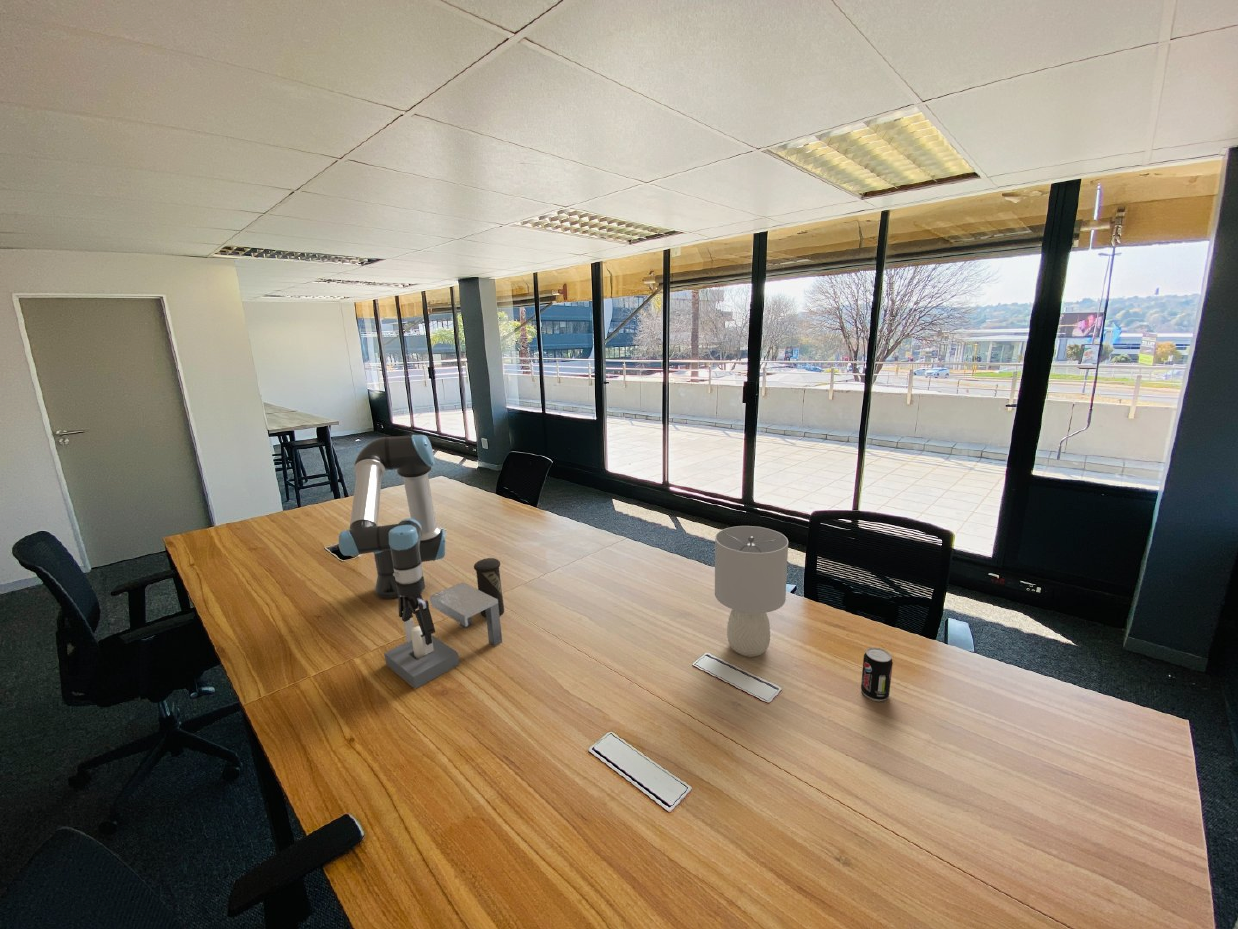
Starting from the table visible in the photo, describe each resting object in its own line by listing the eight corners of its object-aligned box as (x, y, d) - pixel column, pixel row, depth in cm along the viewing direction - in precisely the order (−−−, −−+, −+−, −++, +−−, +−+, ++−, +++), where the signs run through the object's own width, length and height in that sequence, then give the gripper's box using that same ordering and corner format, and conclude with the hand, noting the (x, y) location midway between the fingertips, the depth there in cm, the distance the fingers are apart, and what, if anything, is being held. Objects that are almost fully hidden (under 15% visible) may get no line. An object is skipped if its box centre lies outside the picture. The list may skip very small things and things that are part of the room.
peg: (413, 665, 149) (408, 630, 146) (424, 659, 152) (419, 624, 149) (419, 669, 147) (414, 634, 144) (431, 663, 149) (425, 628, 146)
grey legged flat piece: (435, 637, 163) (429, 596, 159) (467, 621, 172) (462, 582, 168) (470, 660, 150) (464, 615, 146) (502, 642, 159) (497, 599, 155)
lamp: (783, 636, 156) (788, 527, 148) (782, 676, 138) (787, 554, 129) (719, 626, 163) (720, 521, 154) (709, 663, 144) (710, 547, 136)
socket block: (386, 664, 150) (384, 653, 149) (428, 643, 160) (427, 632, 159) (415, 689, 138) (413, 677, 137) (459, 664, 148) (458, 652, 148)
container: (498, 620, 172) (493, 567, 167) (475, 618, 174) (469, 566, 169) (509, 607, 180) (504, 556, 175) (486, 605, 182) (480, 555, 177)
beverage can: (887, 706, 125) (892, 665, 122) (859, 697, 129) (862, 657, 126) (889, 691, 131) (894, 651, 128) (862, 682, 134) (865, 643, 131)
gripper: (379, 572, 147) (390, 638, 152) (416, 595, 132) (427, 667, 138) (403, 563, 152) (413, 627, 158) (442, 584, 138) (451, 654, 144)
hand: (420, 646), depth 148 cm, fingers open, 10 cm apart
